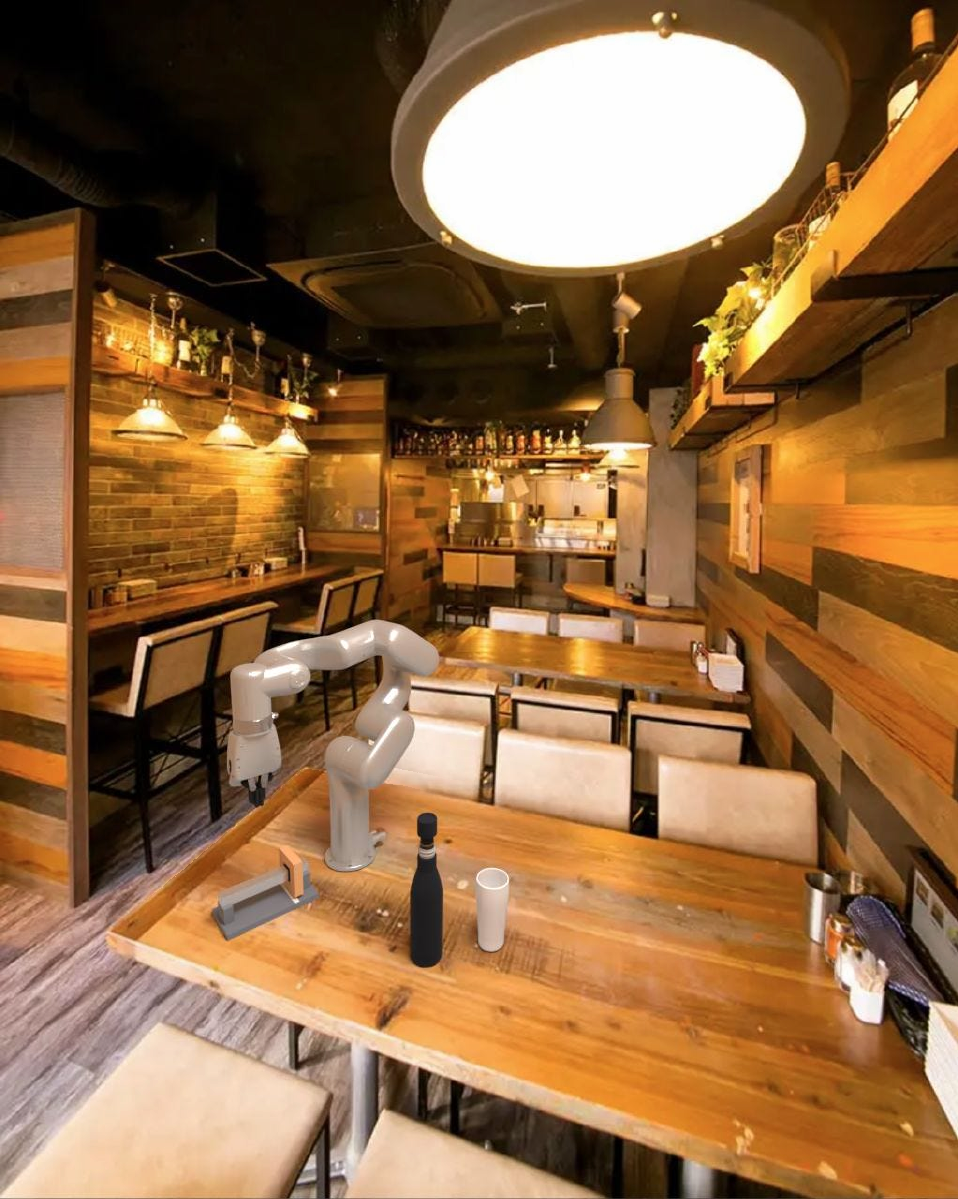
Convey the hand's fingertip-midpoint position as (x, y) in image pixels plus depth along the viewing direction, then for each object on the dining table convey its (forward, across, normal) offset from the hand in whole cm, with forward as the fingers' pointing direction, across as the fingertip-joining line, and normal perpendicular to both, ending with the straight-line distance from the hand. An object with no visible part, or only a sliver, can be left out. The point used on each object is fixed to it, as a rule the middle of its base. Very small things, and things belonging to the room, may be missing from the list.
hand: (257, 803), depth 123 cm
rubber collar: (+23, -7, 0) cm, 24 cm away
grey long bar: (+20, -1, 0) cm, 20 cm away
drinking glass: (+25, -32, +40) cm, 57 cm away
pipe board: (+25, -1, 0) cm, 25 cm away
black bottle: (+25, -20, +34) cm, 47 cm away
